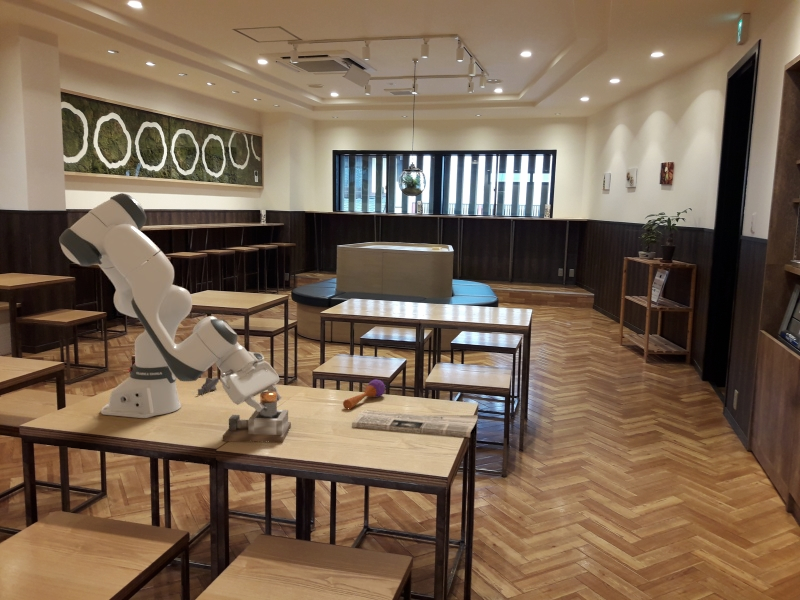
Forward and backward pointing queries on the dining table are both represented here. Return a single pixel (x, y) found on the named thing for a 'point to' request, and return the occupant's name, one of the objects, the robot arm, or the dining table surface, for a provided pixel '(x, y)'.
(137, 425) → the dining table surface
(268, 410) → the orange topped cylinder
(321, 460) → the dining table surface
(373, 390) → the kendama
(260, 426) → the shaft base
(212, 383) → the animal figurine
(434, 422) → the newspaper
